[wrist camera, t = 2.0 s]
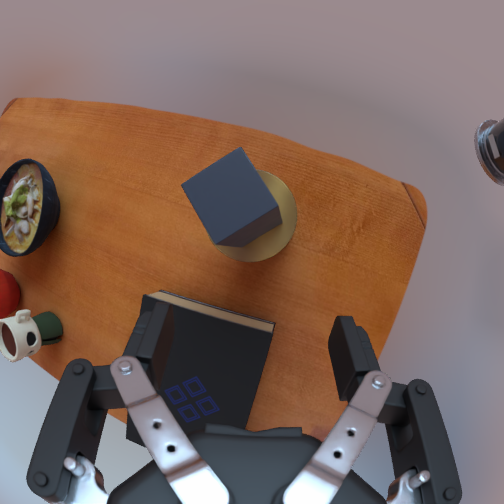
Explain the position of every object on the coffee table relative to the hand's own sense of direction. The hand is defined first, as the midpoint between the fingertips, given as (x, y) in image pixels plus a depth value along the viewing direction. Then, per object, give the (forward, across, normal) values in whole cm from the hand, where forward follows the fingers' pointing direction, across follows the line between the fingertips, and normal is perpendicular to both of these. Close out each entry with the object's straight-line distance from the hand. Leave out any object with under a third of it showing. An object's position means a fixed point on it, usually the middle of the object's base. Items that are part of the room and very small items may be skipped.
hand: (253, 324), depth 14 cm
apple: (+27, +49, +25) cm, 62 cm away
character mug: (+23, +36, +28) cm, 51 cm away
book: (+17, +6, +29) cm, 34 cm away
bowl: (+34, +39, +10) cm, 52 cm away
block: (+15, 0, +1) cm, 15 cm away
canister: (+28, -2, +7) cm, 29 cm away
